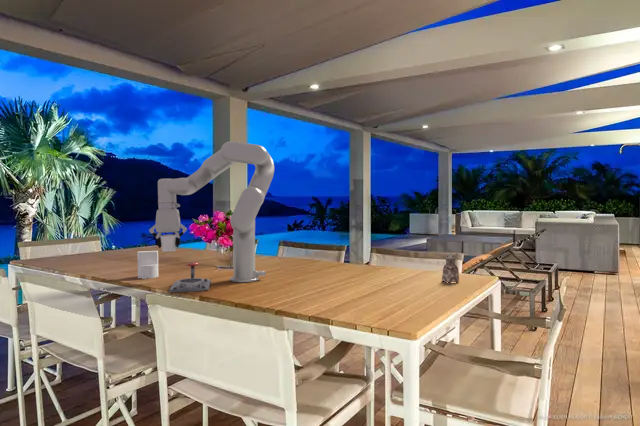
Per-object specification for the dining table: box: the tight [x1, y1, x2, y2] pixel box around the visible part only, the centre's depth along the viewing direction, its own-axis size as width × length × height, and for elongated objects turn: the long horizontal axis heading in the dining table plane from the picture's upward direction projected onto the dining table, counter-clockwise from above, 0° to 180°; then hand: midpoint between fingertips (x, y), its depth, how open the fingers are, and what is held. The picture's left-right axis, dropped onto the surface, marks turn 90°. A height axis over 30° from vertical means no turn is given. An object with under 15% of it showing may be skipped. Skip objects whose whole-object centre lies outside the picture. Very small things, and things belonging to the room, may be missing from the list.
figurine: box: [441, 253, 460, 283], centre depth 194 cm, size 7×7×12 cm
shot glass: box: [160, 234, 177, 253], centre depth 197 cm, size 7×7×7 cm
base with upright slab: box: [136, 250, 159, 280], centre depth 208 cm, size 9×9×12 cm
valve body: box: [168, 262, 212, 293], centre depth 186 cm, size 15×19×9 cm
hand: (168, 246), depth 197 cm, fingers closed on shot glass, 6 cm apart
